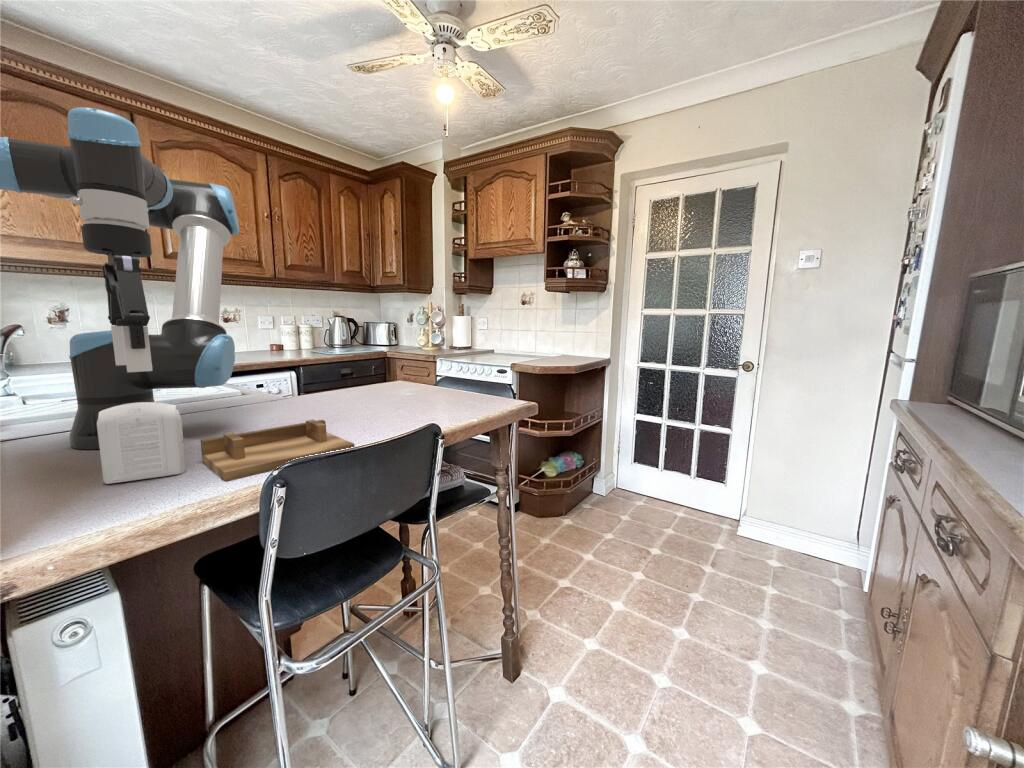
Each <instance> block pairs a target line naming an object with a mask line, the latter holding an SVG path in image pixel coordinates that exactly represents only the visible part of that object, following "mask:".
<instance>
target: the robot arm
mask: <svg viewBox="0 0 1024 768" xmlns="http://www.w3.org/2000/svg"><path fill="white" fill-rule="evenodd" d="M67 138H68V140H69V141H68V142H69V146H67V145H58V144H51V143H46V142H45V143H43V142H37V141H31V140H24V139H23V140H22V139H19V138H18V139H16V138H11V137H9V136H2V137H1V136H0V190H3V191H11V192H16V193H18V194H22V193H26V194H37V195H42V196H46V197H50V198H56V199H60V200H65V201H67V202H71V203H72V204H74V205H76V206H80V207H79V209H78V210H79V211H78V212H79V217H80V220H81V221H83V222H85V223H84V224H82V225H81V226H80V228H81V236H82V243H83V245H82V246H83V249H84V250H85V251H87V252H89V253H92V254H97V255H105V256H107V262H105V263H104V265H103V266H101V269H102V270H101V271H102V276H103V278H104V286H105V289H106V296H107V307H108V308H107V309H108V310H107V311H108V316H107V319H108V320H109V323H110V324H111V326H110V329H111V330H100V331H92V332H82V333H77V334H75V335H73V336H72V337H71V338H70V339H69V360H70V364H71V365H70V366H71V371H72V378H73V384H74V390H75V395H76V401H77V402H76V403H77V410H76V413H75V417H74V419H73V422H72V426H71V429H70V433H69V443H70V447H71V448H72V449H78V450H100V448H99V439H98V431H97V420H98V415H99V412H100V411H102V410H105V409H108V408H111V407H115V406H119V405H123V404H129V403H139V402H156V401H155V396H154V390H160V389H161V390H163V389H165V390H167V389H192V388H193V389H194V388H198V389H204V388H208V387H209V388H210V387H219V386H220V387H221V386H223V385H225V384H226V383H227V382H228V381H229V380H230V378H231V376H232V373H233V371H234V367H235V361H236V360H235V359H236V354H235V351H236V346H235V342H234V339H233V337H232V336H231V335H229V334H227V330H226V328H225V327H224V326H222V325H221V324H220V314H221V313H220V312H221V291H222V278H223V277H222V276H223V272H222V271H223V256H224V255H223V254H224V247H225V246H226V245H228V244H229V243H230V242H231V238H232V236H235V235H239V234H240V225H239V224H240V223H239V219H238V215H237V214H238V213H237V208H236V204H235V201H234V198H233V194H232V192H231V191H230V189H228V187H226V186H224V185H221V184H215V183H211V182H207V183H203V182H197V181H194V182H193V181H188V180H187V181H186V180H180V179H172V178H168V176H167V175H166V174H165V172H163V170H162V169H161V168H160V167H159V166H158V165H156V164H154V163H153V162H152V161H151V160H150V159H148V157H147V156H146V155H144V154H143V152H142V148H141V147H142V146H143V143H142V142H141V141H140V135H139V130H138V128H137V126H136V125H135V124H134V123H133V122H132V121H130V120H128V119H127V118H125V117H123V116H121V115H119V114H116V113H113V112H110V111H107V110H102V109H97V108H92V107H74V108H72V109H70V110H68V113H67ZM150 227H155V228H159V229H166V230H173V231H174V232H173V233H175V234H176V235H177V236H178V237H179V238H178V239H179V240H178V251H177V261H176V271H175V282H174V292H173V293H174V294H173V295H174V296H173V304H172V306H173V307H172V316H171V318H169V319H168V320H166V321H164V322H163V324H162V326H161V333H160V334H149V328H148V324H149V322H150V319H151V317H150V316H151V315H149V310H148V306H147V301H146V295H145V291H144V286H143V281H142V270H141V268H140V263H141V262H140V259H139V258H149V257H151V256H152V254H153V250H152V243H151V242H152V241H151V240H152V239H151V234H150V233H149V232H148V231H146V230H148V229H149V228H150Z"/></svg>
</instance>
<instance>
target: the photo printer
mask: <svg viewBox="0 0 1024 768" xmlns="http://www.w3.org/2000/svg"><path fill="white" fill-rule="evenodd" d="M97 431H98V439H99V448H100V449H99V455H100V463H101V471H102V473H101V474H102V480H103V483H104V484H107V485H110V484H116V483H123V482H132V481H138V480H139V481H140V480H147V479H154V478H158V477H159V478H160V477H168V476H176V475H181V474H184V473H185V471H187V467H186V455H185V444H184V435H183V423H182V416H181V414H180V411H179V410H178V406H177V405H176V404H171V403H165V402H158V401H157V402H156V401H155V402H139V403H129V404H123V405H119V406H115V407H111V408H108V409H105V410H102V411H100V412H99V415H98V420H97Z"/></svg>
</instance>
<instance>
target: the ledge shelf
mask: <svg viewBox="0 0 1024 768" xmlns="http://www.w3.org/2000/svg"><path fill="white" fill-rule="evenodd" d="M351 447H355V443H354V442H352V441H349V440H346V439H344V438H341V437H339V436H336V435H334V434H332V433H329V432H327V424H326V420H324V419H319V420H315V419H308V420H305V422H300V423H294V424H289V425H281V426H277V427H271V428H265V429H257V430H254V431H247V432H240V433H235V432H228V433H223V435H222V436H218V437H217V436H216V437H211V438H205V439H200V449H201V459H202V463H204V464H205V465H206V466H207V467H209V469H211V470H212V472H214V473H215V474H216V475H218V476H219V477H220V478H221V479H222V480H223V481H224V482H228V481H233V480H239V479H241V478H245V477H250V476H254V475H255V476H256V475H259V474H262V473H266V472H271V471H272V472H273V471H274V470H275V469H276V468H277V467H279V466H281V465H283V464H285V463H286V462H288V461H291V460H293V459H296V458H300V457H305V456H309V455H315V454H321V453H326V452H330V451H336V450H341V449H346V448H351ZM276 470H277V469H276ZM276 470H275V471H276Z"/></svg>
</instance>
